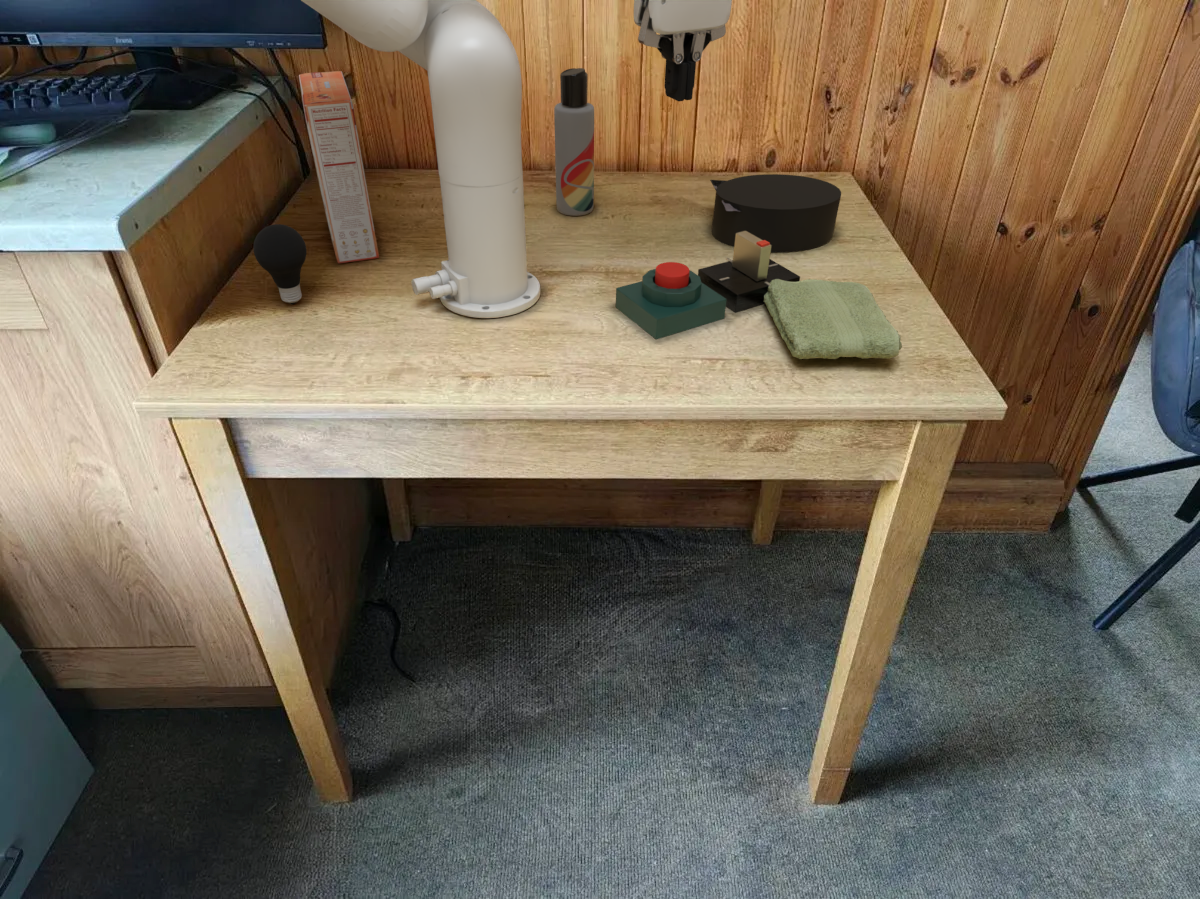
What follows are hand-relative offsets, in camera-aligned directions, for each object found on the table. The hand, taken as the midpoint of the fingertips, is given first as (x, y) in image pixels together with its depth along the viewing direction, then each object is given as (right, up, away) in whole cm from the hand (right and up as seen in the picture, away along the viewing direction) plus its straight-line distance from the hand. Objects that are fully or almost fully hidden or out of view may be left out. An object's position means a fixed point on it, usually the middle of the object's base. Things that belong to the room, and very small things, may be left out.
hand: (678, 97), depth 96 cm
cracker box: (-44, -11, +22) cm, 50 cm away
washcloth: (+18, -26, +3) cm, 32 cm away
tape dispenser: (+16, -8, +27) cm, 32 cm away
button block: (0, -24, +7) cm, 25 cm away
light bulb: (-47, -22, +8) cm, 52 cm away
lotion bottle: (-13, -4, +32) cm, 35 cm away
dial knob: (+10, -18, +10) cm, 23 cm away
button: (0, -20, +4) cm, 21 cm away
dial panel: (+10, -20, +12) cm, 25 cm away
